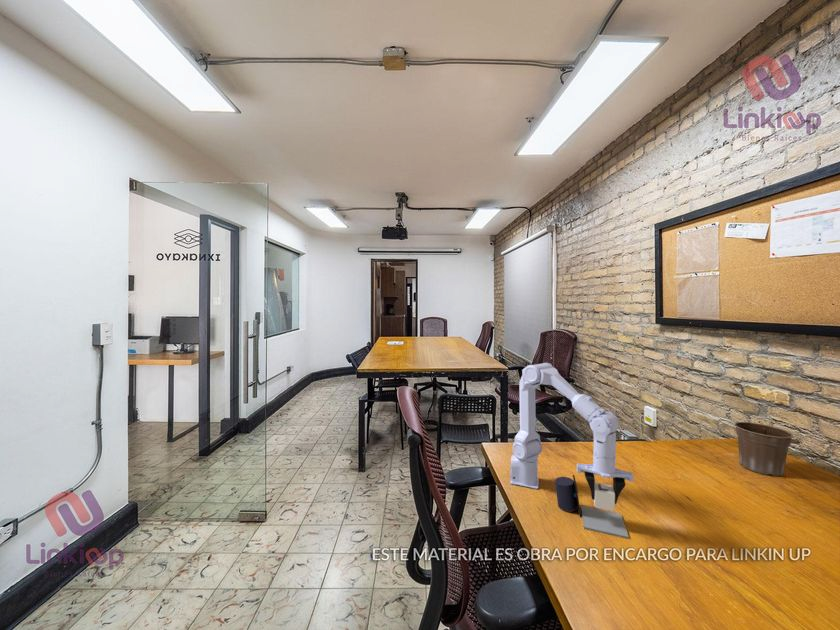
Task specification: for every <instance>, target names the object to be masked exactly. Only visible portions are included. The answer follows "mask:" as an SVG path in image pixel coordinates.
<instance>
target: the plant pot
mask: <svg viewBox="0 0 840 630" xmlns="http://www.w3.org/2000/svg"><path fill="white" fill-rule="evenodd" d="M734 427H735V430H736V431H735V433H736V436H737V445H738V455H739V456H738V459H739V460H738V461H739V465H741V466H742V467H743V468H745V469H747V470H748V471H751V472H754V473H757V474H761V475H765V476H769V475H771V476H773V477H781V476H784V473H785V467H786V462H787V458H788V457H787V456H788V451H789V448H790V446H791V444H792V443H791V442H792V439H793V438H794V436H795V435H794V434H793V433H791V432H790V431H787V430H785V429H781V428H779V427H775V426H772V425H767V424H761V423H755V422H748V421H747V422H744V421H739V422H738V421H737V422H734Z"/></svg>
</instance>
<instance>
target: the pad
mask: <svg viewBox="0 0 840 630" xmlns="http://www.w3.org/2000/svg"><path fill="white" fill-rule="evenodd" d="M580 512H581V518H582V523H583V529H585V530H589V531H593V532H598V533H602V534H605V535H610V534H611V536H614V535H615V537H618V536H620V537H619V538H623V537H624V538H623V539H627V538H629V539H630V537H629V534H628V533H629V532H628V531H627V527H626V525H625V523H624V518H623V517H622V513H619V512H615V511H610V510H605V509H601V508H596V507H590V506H585V505H580ZM625 537H626V538H625Z"/></svg>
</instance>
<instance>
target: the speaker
mask: <svg viewBox="0 0 840 630" xmlns="http://www.w3.org/2000/svg"><path fill="white" fill-rule="evenodd" d="M572 478H573V479H572ZM572 478H570V477H566V476H559V477H557V478H555V480H554V486H555V492H556V499H557V501H556V502H557V506H558V508H559V509H560V510H561V511H564V512H571V513H572V512H574V511H576V510H578V516H579V518H582V511H581V505H580V500H579V494H578V486H577V481H576V476H575V474H572Z"/></svg>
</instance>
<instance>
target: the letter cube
mask: <svg viewBox="0 0 840 630" xmlns="http://www.w3.org/2000/svg"><path fill="white" fill-rule="evenodd" d="M594 493H595V500H592V501H593V504H594V508H595V509H600V510H604V511H609V512H615V508H616V507H615V506H616V504H615V493H614V490H613V484H612V485H610V484H606V483H600V482H599V483H598V482H595V486H594Z"/></svg>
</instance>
